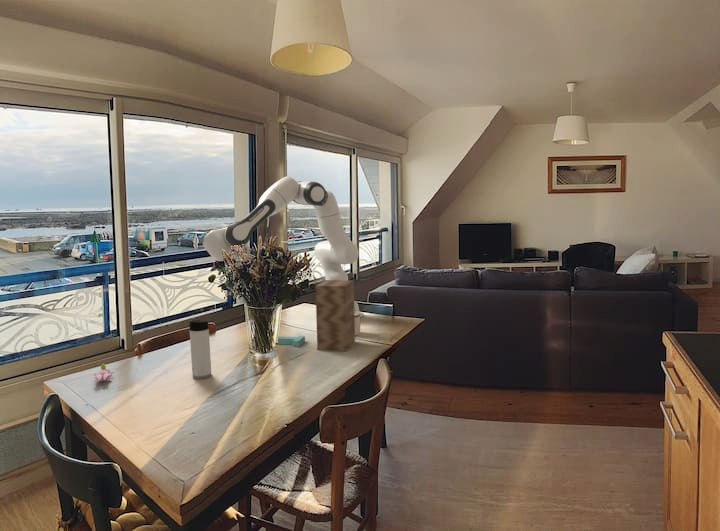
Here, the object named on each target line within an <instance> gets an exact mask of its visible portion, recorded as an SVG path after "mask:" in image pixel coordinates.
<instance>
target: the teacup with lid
mask: <svg viewBox="0 0 720 531" xmlns="http://www.w3.org/2000/svg"><path fill="white" fill-rule="evenodd" d="M359 312H360V311H359ZM359 312H356V311H355V310H354V318H355V336H358V335H360V334H361V317H360V313H359Z"/></svg>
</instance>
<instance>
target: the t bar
mask: <svg viewBox="0 0 720 531" xmlns="http://www.w3.org/2000/svg"><path fill="white" fill-rule="evenodd" d="M305 342H306V336H305V335H298V336H278V344H277V345H292V347H297V348H298V347H300V346H301V345H303V344H304V343H305Z"/></svg>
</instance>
